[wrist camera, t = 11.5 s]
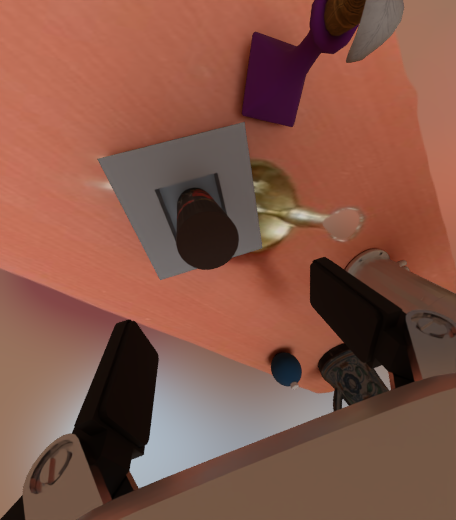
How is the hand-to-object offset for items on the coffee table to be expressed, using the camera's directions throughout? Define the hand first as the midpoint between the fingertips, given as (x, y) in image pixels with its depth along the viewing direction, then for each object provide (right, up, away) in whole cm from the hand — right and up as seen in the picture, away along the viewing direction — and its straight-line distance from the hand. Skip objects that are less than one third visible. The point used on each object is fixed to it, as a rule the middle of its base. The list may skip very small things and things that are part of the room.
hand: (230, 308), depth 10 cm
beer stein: (+38, -33, +57) cm, 76 cm away
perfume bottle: (+5, +26, +16) cm, 31 cm away
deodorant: (-5, +11, +21) cm, 24 cm away
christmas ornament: (+16, -27, +48) cm, 57 cm away
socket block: (-6, +12, +21) cm, 25 cm away
